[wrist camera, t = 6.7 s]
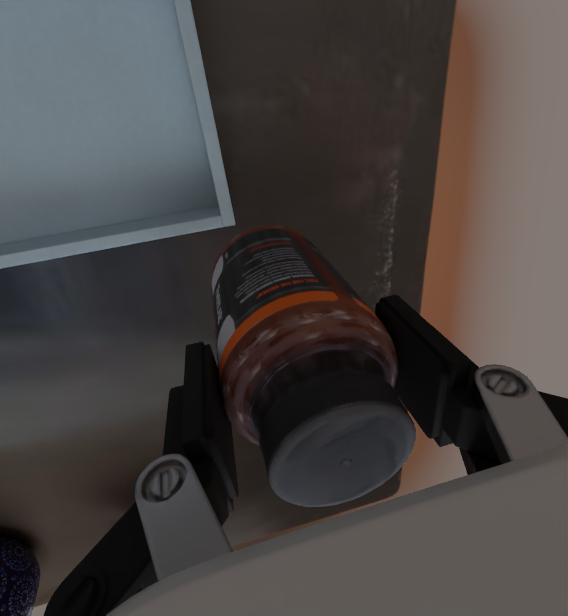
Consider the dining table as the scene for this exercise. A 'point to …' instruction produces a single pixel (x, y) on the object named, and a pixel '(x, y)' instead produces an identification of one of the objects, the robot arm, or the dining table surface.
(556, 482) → the robot arm
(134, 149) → the blue-grey tray
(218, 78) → the dining table surface
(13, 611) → the planter
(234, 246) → the supplement bottle
